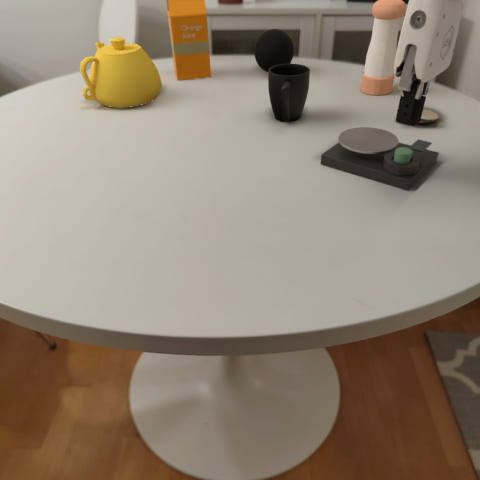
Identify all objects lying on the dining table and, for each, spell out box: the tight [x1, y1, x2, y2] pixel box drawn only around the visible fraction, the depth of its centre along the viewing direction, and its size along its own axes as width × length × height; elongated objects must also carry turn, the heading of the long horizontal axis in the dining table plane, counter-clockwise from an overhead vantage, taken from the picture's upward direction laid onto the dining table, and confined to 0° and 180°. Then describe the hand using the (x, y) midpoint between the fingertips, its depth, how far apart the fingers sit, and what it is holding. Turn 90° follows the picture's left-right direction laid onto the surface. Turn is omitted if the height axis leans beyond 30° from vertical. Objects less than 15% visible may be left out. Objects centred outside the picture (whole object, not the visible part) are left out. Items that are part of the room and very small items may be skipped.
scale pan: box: [337, 126, 433, 154], centre depth 77 cm, size 14×10×1 cm
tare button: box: [394, 147, 412, 164], centre depth 73 cm, size 3×3×2 cm
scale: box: [320, 142, 440, 192], centre depth 78 cm, size 16×12×4 cm
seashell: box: [396, 108, 440, 124], centre depth 92 cm, size 8×3×8 cm
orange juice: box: [166, 0, 212, 81], centre depth 114 cm, size 8×9×20 cm
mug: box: [267, 63, 311, 123], centre depth 92 cm, size 8×12×10 cm
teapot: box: [79, 36, 163, 108], centre depth 105 cm, size 20×19×13 cm
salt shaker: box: [359, 0, 407, 96], centre depth 101 cm, size 7×7×19 cm
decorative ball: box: [253, 28, 295, 73], centre depth 116 cm, size 10×10×10 cm
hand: (407, 122), depth 69 cm, fingers closed
